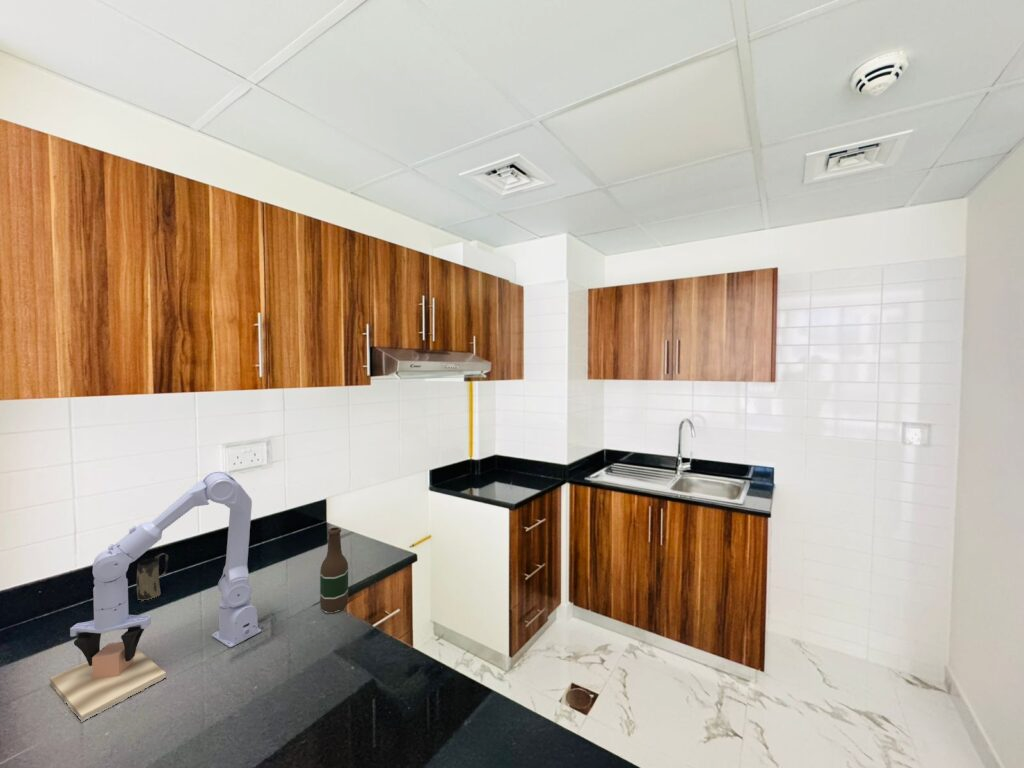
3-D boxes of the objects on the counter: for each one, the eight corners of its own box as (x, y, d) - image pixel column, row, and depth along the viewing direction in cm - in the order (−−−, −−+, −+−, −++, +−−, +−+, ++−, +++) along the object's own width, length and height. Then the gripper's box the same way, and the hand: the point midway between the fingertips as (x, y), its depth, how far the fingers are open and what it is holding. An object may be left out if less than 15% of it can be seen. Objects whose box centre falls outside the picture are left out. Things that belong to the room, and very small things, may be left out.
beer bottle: (320, 616, 121) (319, 535, 120) (320, 602, 128) (320, 526, 128) (348, 611, 124) (348, 531, 124) (347, 597, 132) (347, 522, 131)
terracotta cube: (133, 661, 100) (132, 640, 100) (118, 676, 95) (118, 654, 95) (108, 664, 99) (108, 643, 99) (92, 679, 94) (92, 657, 94)
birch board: (165, 678, 97) (165, 672, 97) (81, 722, 84) (81, 715, 84) (130, 648, 106) (129, 643, 106) (50, 684, 94) (49, 677, 94)
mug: (143, 603, 127) (142, 564, 126) (132, 599, 129) (132, 560, 128) (172, 590, 134) (172, 553, 134) (162, 586, 136) (161, 550, 136)
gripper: (158, 590, 102) (159, 645, 102) (86, 597, 98) (87, 653, 99) (139, 606, 95) (140, 665, 95) (62, 614, 92) (63, 674, 92)
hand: (112, 660), depth 97 cm, fingers open, 6 cm apart
